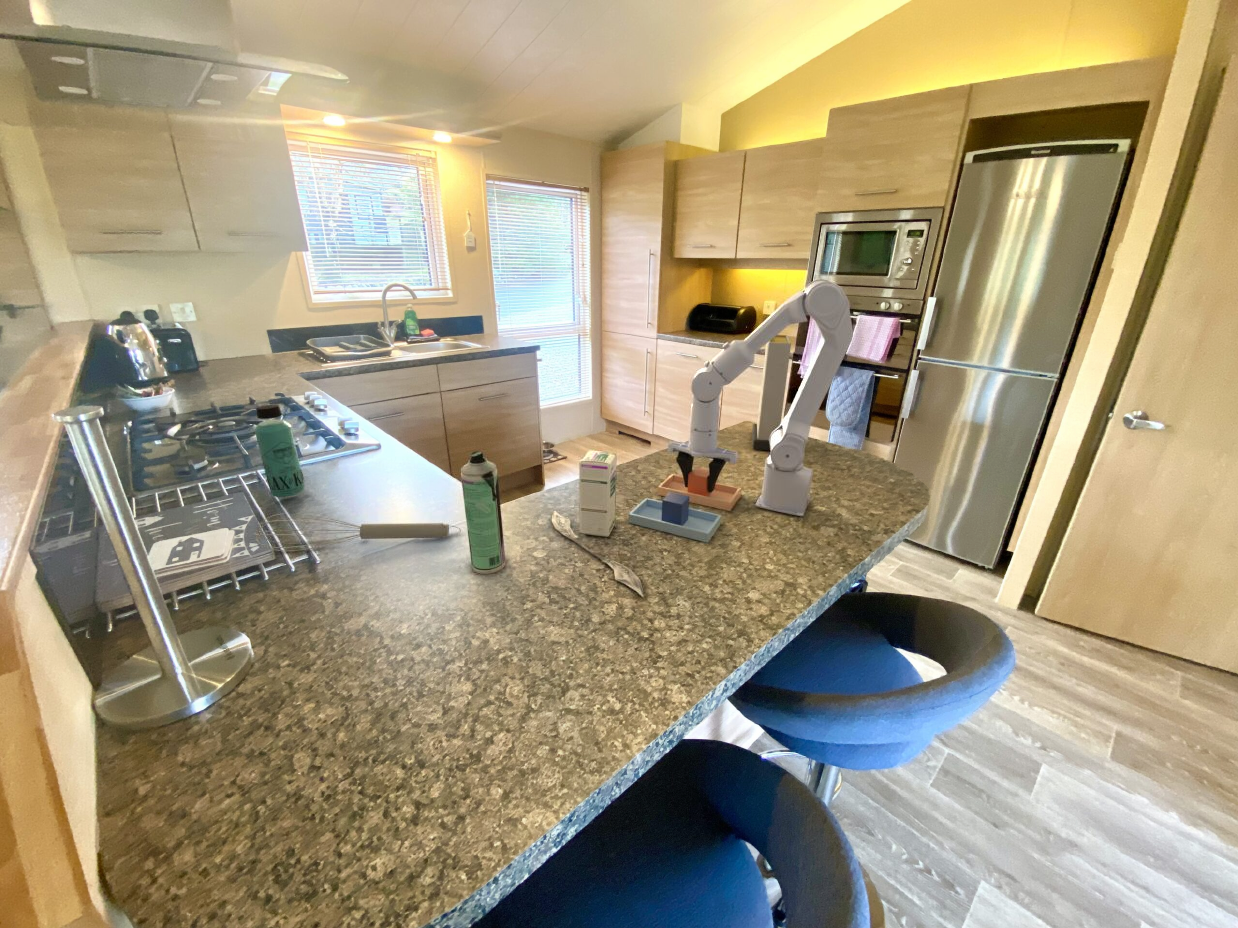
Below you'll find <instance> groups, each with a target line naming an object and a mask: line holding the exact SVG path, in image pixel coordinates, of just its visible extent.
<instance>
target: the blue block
mask: <svg viewBox="0 0 1238 928" xmlns="http://www.w3.org/2000/svg"><path fill="white" fill-rule="evenodd" d="M689 498H690V496H686V495H681V494H677V493H672V492H670V493H669V494H668V495H667V496H666V497H665V496H664V497H663V499H662V500H661V501H662V518H661V521H664V522H669V523H673V524H677V525H681V526H683V525H684V524H685V522H686V521H687V520H688V513H689V508H690V502H689Z"/></svg>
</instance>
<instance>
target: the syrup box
mask: <svg viewBox="0 0 1238 928" xmlns="http://www.w3.org/2000/svg"><path fill="white" fill-rule="evenodd" d="M617 464H618V455H617V453H614V452H609V451H602V450H601V451H600V450H587V452H586V453H585V455H584V456H582V457H581V459H580V460H579V462H578V465H579V467H578V468H579V469H578V470H579V474H578V475H579V476H578V477H579V478H578V480H579V481H578V484H579V485H578V487H579V489H578V490H579V493H578V495H579V496H578V497H579V498H578V499H579V503H578V504H579V505H578V506H579V510H578V511H579V513H578V514H579V516H578V517H579V519H578V521H579V523H578V525H579V527H578V529H579V530H578V531H579V533H580V534H586V535H591V536H599V537H606V538H607V537H610V534H611V532H612V530H613V528H614V527H615V524H616V516H617V515H616V511H617V475H618V474H617V472H618V471H617V469H618V467H617V466H618V465H617Z"/></svg>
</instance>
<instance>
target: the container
mask: <svg viewBox="0 0 1238 928" xmlns="http://www.w3.org/2000/svg"><path fill="white" fill-rule="evenodd" d="M791 348H792V343H791V340H790V338H789V335H787V334H785V335H784V334H777V335H776V336H775V337H774V338H773V339H771V340H770V341H769V342H768V343H766V344H765V351H764V360H763V368H762V370H763V371H762V377H761V378H762V379H761V387H760V394H759V395H760V396H759V404H758V414H757V423H754V424H753V425H752V449H753V450H756V451H769V452H771V448H770V444H769V438H770V435H771V434H772V432H773V431H774V430H775V429H777V428H778V427H779V426H780V424H781V422H782V419H783V409H784V402H785V395H786V394H785V393H786V386H787V381H788V380H787V379H788V373H789V372H788V371H789V363H790V356H791V350H792V349H791Z"/></svg>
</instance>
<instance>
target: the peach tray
mask: <svg viewBox="0 0 1238 928" xmlns="http://www.w3.org/2000/svg"><path fill="white" fill-rule="evenodd" d="M687 491H688V488H687V487H685V483H684V478H683V475H679V474H675V473H671V474H670V475H669V476H668V477H666V479H665V480H664V481H663V482H661V483H660V484H659V485H658V486H657V495H658V496H662V497H664V498H665V497H666V496H667V495H668V494H669V493H670V492H672V493H677V494H681V495H686V496H690V498H689V503H692V504H697V505H701V506H705V507H711V508H713V509H718V510H724V511H728V512H731V510H732V509H733V507H735V505H736V503H737V502H738V500H739V499H740V497H741V496H742V487H738V486H734V485H728V484H724V483H719V482H716V484H715V488H714V490H713V491H712V492H711V493H710V494H709V495H708V496H702V495H698V494H693V493H688V492H687Z"/></svg>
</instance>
